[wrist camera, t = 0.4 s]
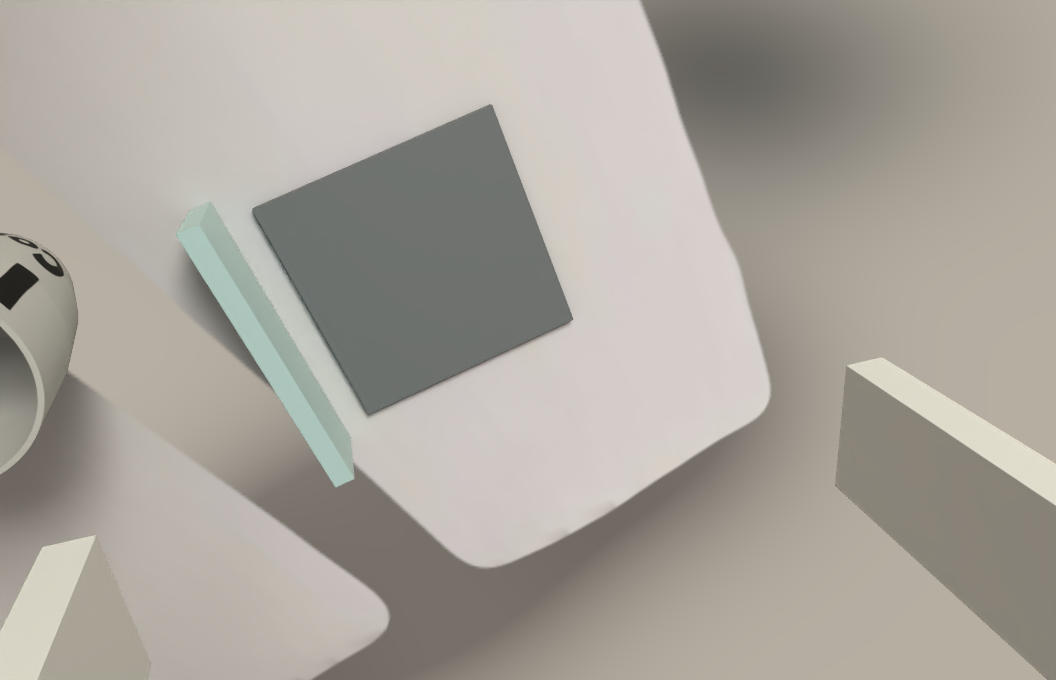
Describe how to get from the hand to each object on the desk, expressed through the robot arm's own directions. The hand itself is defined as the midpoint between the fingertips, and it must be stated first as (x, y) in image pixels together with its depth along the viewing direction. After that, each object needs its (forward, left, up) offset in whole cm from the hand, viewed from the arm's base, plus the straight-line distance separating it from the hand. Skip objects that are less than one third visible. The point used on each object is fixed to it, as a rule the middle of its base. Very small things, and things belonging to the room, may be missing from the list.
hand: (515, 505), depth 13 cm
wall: (+4, -8, -26) cm, 27 cm away
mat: (+4, 0, -26) cm, 26 cm away
